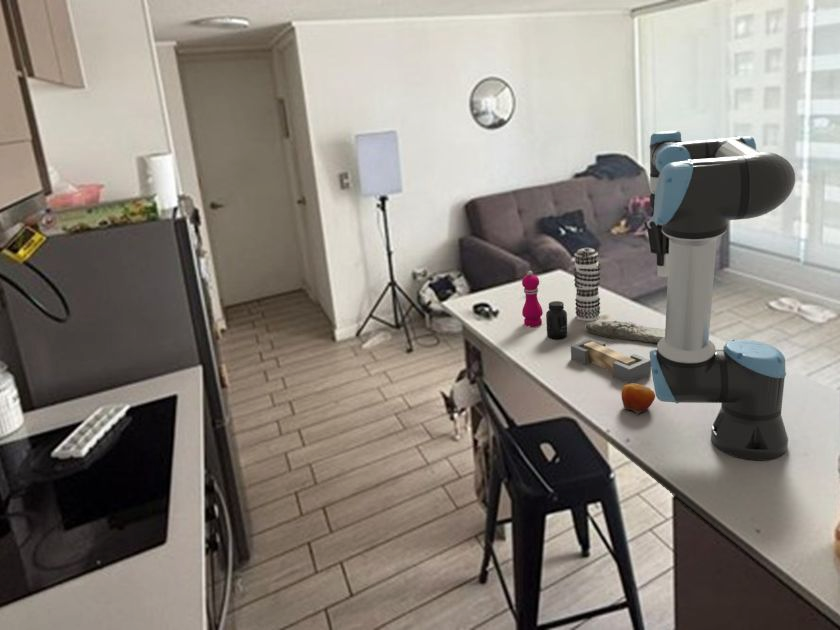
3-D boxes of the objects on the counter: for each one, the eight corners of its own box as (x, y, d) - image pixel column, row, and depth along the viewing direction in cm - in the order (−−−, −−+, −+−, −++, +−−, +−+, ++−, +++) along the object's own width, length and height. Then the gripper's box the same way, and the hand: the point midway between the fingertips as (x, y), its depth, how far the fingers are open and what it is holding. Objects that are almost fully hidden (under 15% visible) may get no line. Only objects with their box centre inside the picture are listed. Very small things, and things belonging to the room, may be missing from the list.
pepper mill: (521, 327, 216) (518, 274, 209) (524, 320, 223) (520, 268, 216) (542, 327, 214) (539, 273, 207) (544, 320, 220) (541, 267, 214)
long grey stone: (689, 356, 183) (698, 345, 191) (691, 339, 181) (700, 329, 189) (580, 334, 204) (591, 325, 211) (580, 319, 202) (592, 311, 209)
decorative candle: (607, 316, 217) (605, 248, 208) (587, 323, 213) (586, 254, 204) (588, 310, 224) (586, 244, 216) (569, 317, 220) (567, 250, 212)
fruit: (611, 408, 154) (619, 378, 154) (624, 411, 160) (632, 382, 160) (641, 417, 148) (649, 386, 149) (654, 420, 154) (661, 389, 154)
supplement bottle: (568, 340, 201) (566, 306, 197) (547, 340, 202) (545, 307, 198) (567, 332, 207) (566, 299, 203) (547, 333, 209) (545, 300, 205)
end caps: (650, 374, 172) (651, 360, 170) (629, 383, 168) (629, 369, 166) (591, 351, 191) (591, 338, 189) (571, 359, 187) (570, 345, 186)
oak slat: (635, 375, 172) (635, 359, 171) (626, 379, 171) (626, 363, 169) (592, 356, 188) (592, 341, 186) (583, 359, 187) (583, 344, 185)
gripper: (669, 186, 167) (667, 268, 175) (636, 194, 162) (636, 279, 170) (693, 188, 161) (690, 272, 169) (659, 196, 156) (658, 284, 163)
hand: (663, 275), depth 169 cm, fingers closed
